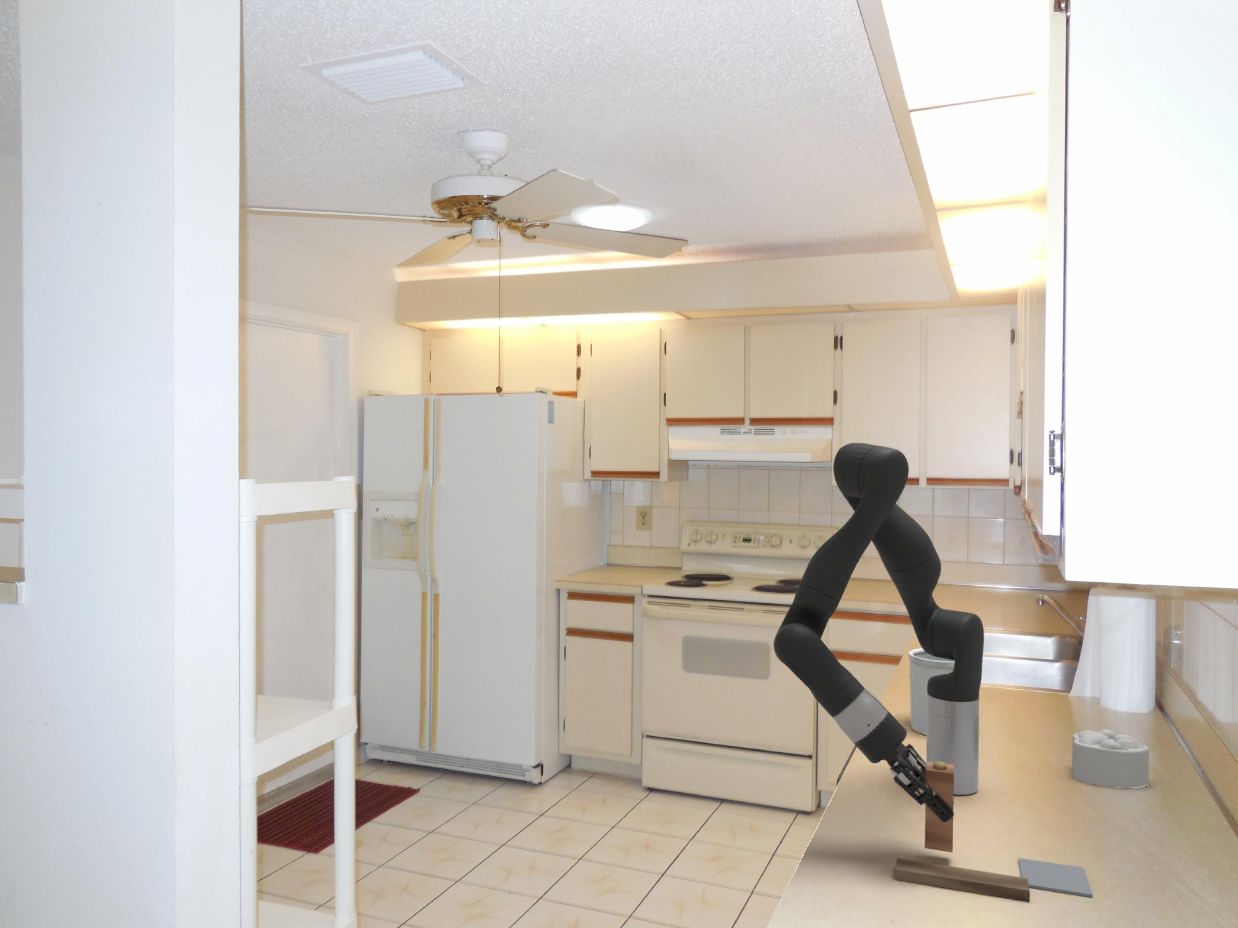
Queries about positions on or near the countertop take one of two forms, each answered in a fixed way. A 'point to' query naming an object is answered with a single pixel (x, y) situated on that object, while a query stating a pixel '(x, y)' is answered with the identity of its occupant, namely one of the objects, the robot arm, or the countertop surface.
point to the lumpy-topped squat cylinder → (1109, 759)
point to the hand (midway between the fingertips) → (949, 812)
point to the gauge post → (943, 784)
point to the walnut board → (962, 879)
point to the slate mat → (1055, 877)
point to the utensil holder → (923, 683)
